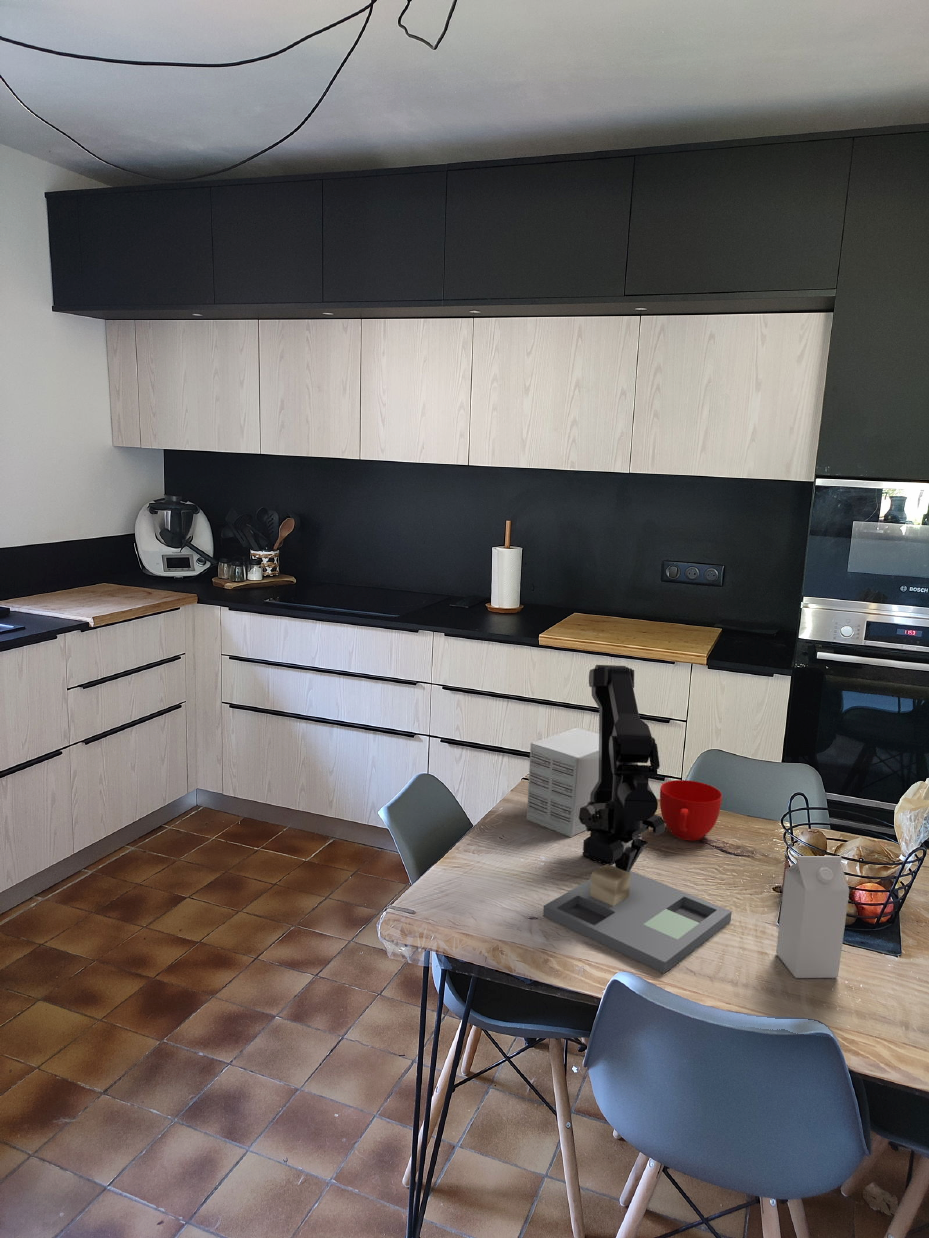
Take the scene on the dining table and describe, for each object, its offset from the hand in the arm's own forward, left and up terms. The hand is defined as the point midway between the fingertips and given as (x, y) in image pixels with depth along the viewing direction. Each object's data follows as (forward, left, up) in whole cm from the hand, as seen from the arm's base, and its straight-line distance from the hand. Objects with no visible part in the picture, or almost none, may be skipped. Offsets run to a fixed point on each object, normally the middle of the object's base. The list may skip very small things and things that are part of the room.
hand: (622, 878), depth 160 cm
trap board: (+4, +6, -4) cm, 8 cm away
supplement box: (-24, -28, -4) cm, 37 cm away
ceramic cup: (-33, -5, -4) cm, 34 cm away
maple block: (+4, 0, -2) cm, 4 cm away
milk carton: (-3, +33, -4) cm, 33 cm away
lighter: (-28, +23, -4) cm, 36 cm away
